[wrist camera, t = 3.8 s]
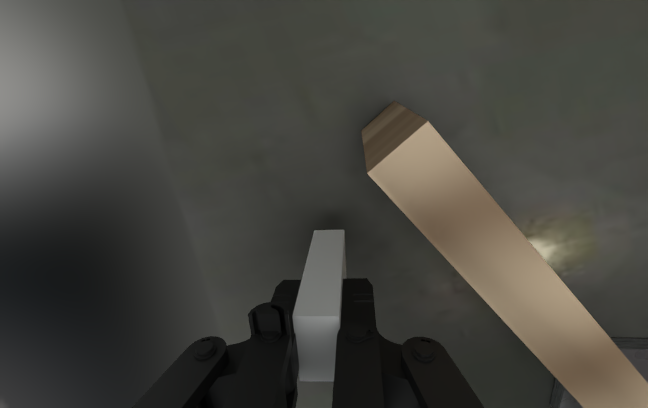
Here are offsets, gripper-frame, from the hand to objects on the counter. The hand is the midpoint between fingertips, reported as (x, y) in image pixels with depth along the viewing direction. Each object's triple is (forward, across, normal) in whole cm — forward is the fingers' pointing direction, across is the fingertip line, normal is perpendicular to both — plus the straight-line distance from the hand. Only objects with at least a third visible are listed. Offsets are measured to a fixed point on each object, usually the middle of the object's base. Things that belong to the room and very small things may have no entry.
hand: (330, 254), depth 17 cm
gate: (+3, -10, +2) cm, 10 cm away
